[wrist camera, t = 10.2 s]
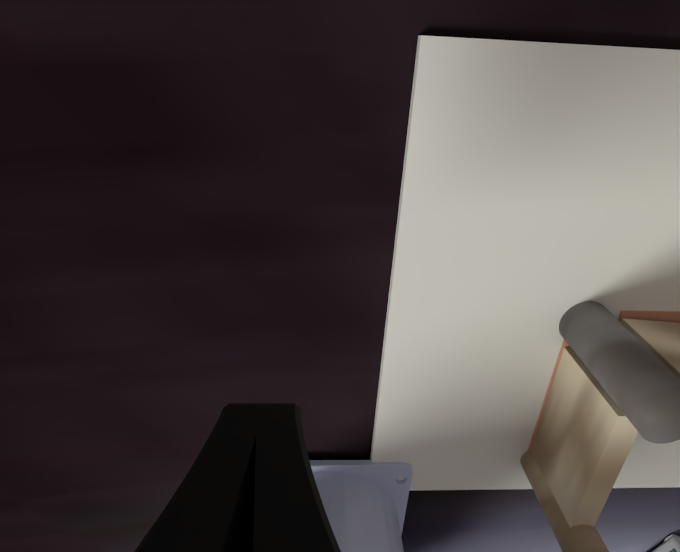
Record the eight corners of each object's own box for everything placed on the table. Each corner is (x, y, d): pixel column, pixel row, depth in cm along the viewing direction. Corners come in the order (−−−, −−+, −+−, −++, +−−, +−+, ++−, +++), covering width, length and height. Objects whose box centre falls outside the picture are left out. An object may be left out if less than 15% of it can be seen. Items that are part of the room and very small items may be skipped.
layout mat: (743, 480, 25) (750, 487, 25) (367, 483, 24) (368, 492, 23) (1010, 68, 16) (1028, 69, 16) (418, 35, 14) (421, 35, 14)
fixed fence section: (552, 469, 23) (614, 583, 19) (512, 469, 23) (564, 585, 19) (614, 301, 19) (716, 395, 14) (566, 300, 19) (652, 394, 14)
